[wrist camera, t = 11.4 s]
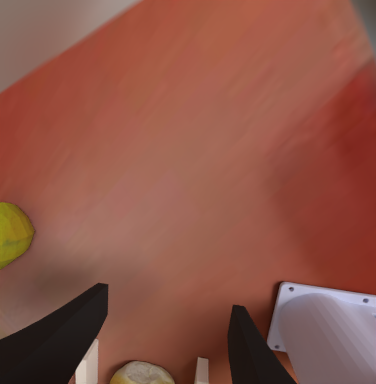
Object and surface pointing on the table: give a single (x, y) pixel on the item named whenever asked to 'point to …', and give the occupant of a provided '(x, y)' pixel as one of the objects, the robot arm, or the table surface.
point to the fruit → (13, 233)
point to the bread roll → (141, 374)
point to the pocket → (89, 368)
